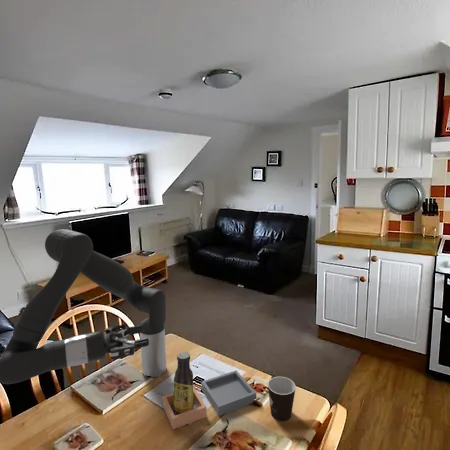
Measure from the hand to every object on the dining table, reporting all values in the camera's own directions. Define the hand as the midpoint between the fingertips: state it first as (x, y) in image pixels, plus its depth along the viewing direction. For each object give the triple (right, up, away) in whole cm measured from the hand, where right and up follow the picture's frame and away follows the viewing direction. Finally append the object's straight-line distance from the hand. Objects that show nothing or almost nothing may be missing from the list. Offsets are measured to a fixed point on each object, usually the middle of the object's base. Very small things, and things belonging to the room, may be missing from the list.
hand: (145, 334), depth 94 cm
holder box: (+10, -28, +10) cm, 31 cm away
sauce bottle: (+10, -28, +10) cm, 32 cm away
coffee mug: (+42, -28, +10) cm, 51 cm away
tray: (+25, -27, +17) cm, 40 cm away
